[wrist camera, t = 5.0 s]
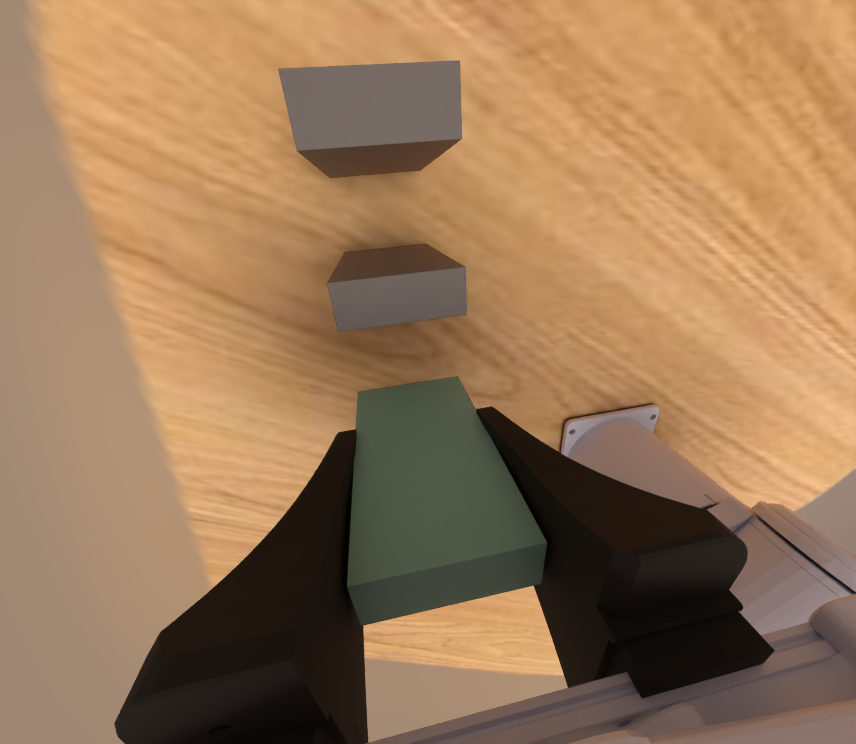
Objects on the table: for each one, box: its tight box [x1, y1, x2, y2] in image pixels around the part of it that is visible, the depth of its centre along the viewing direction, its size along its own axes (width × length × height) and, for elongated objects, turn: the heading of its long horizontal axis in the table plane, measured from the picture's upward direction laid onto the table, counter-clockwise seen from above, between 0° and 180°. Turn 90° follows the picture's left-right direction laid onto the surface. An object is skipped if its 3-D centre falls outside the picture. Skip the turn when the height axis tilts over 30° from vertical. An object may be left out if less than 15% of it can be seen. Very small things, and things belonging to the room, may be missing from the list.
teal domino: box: [347, 376, 547, 626], centre depth 11 cm, size 2×4×8 cm, turn 95°
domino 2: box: [327, 244, 467, 332], centre depth 14 cm, size 2×4×8 cm, turn 95°
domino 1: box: [278, 60, 462, 178], centre depth 12 cm, size 2×4×8 cm, turn 95°
